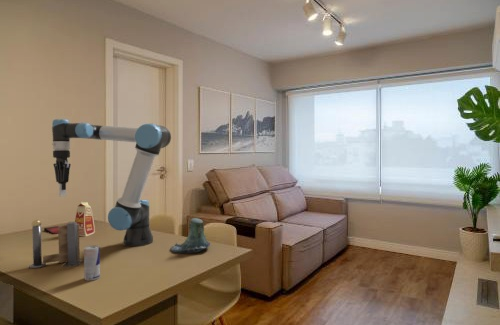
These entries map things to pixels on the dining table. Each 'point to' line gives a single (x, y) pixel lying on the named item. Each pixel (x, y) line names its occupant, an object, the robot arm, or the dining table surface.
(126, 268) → the dining table surface
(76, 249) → the dark grey bar
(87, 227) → the milk carton
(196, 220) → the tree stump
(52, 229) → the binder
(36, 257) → the hinge post
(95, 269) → the energy drink
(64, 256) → the gate
